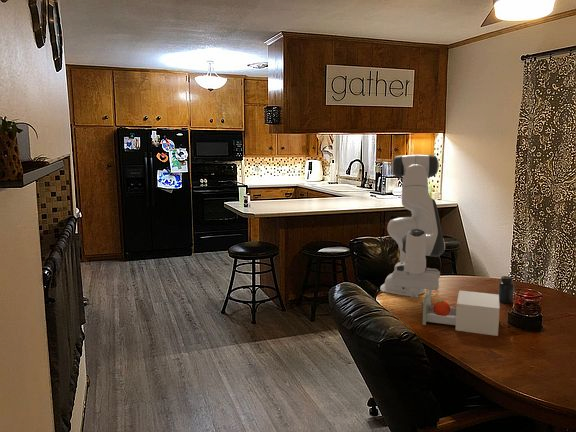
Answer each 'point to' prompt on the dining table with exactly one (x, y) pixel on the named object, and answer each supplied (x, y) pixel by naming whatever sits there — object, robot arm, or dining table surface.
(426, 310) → the grey drawer
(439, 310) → the clementine
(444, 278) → the dining table surface
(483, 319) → the block
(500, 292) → the supplement bottle
